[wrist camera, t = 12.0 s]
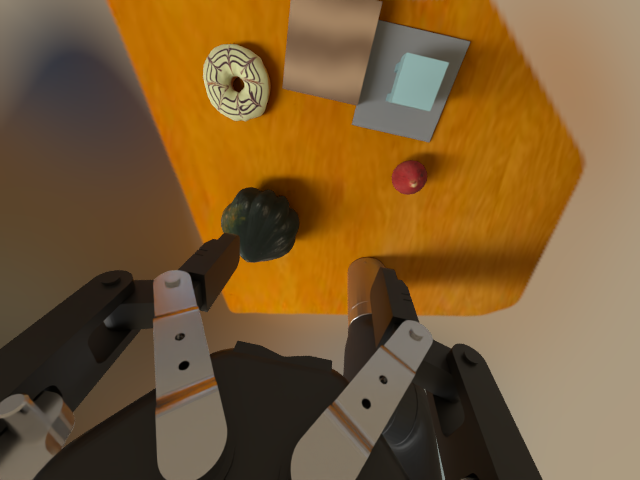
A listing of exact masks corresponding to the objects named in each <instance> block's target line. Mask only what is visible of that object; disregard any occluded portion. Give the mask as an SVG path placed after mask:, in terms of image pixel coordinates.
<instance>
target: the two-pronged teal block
mask: <svg viewBox="0 0 640 480" xmlns="http://www.w3.org/2000/svg"><path fill="white" fill-rule="evenodd" d="M448 64H449V62H445V61H440V60H436V59H432V58H428V57H424V56H420V55H415V54H411V53H406V54H404V55H403V56H402V58H401V61H400V62H399V63H397V64H396V67H395V71H394V72H396V73H397V74H396V78H395V81H394V84H393V88H392V91H391V93H390V94H387V97H386V101H388V102H389V103H393V104H397V105H402V106H406V107H410V108H414V109H419V110H423V111H430V110H431V108H432V105H433V103H434V100H435V98H436V95H437V92H438V90H439V87H440V85H441V82H442V80H443V77H444V75H445V72H446V69H447V67H448Z"/></svg>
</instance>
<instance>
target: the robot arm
mask: <svg viewBox="0 0 640 480" xmlns="http://www.w3.org/2000/svg"><path fill="white" fill-rule="evenodd" d="M239 258H240V236H239V235H235V234H230V233H226V232H225V233H224V234H223V235H222V236H221V237H220V238H219V239H218V240H216V239H212V240H210V241H208V242H206V243H204V244H203V245H202V246H201V247H200V249H199V250H197V251H196V252H195V254H193V255H192V256H191V257H190V258H189V259H188V260H187V261H186V262H185V263H184V264H183V265H182V266H181V267H180V268H179V269H178V270H174V271H168V272H165V273H163V274H161V275H159V276H158V277H157V278H156V279H155V280H133V277H132V274H131V273H129V272H127V271H122V270H115V271H109V272H105V273H103V274H100V275H98V276H96V277H95V278H93V279H92V280H91V281H89V282H88V283H87V284H85V285H84V286H83V287H81V288H80V289H79V290H77V291H76V292H75V293H74V294H72V295H71V296H70V297H68V298H67V299H66V300H64V301H63V302H62V303H60V304H59V305H58V306H56V307H55V308H54V309H52V310H51V311H50V312H49V313H47V314H46V315H44V316H43V317H42V318H41V319H39V320H38V321H37V322H35V323H34V324H33V325H31V326H30V327H29V328H27V329H26V330H25V331H24V332H22V333H21V334H19V335H18V336H17V337H15V338H14V339H13V340H12V341H10V342H9V343H8V344H6V345H5V346H4V347H2V348H1V349H0V480H442V475H441V469H440V462H439V456H438V449H437V444H438V448H439V453H440V457H441V462H442V467H443V471H444V476H445V480H542V477H541V475H540V473H539V471H538V469H537V467H536V465H535V463H534V461H533V459H532V457H531V455H530V453H529V450H528V449H527V446H526V444H525V442H524V440H523V438H522V436H521V434H520V432H519V430H518V428H517V426H516V424H515V421H514V419H513V417H512V415H511V413H510V411H509V409H508V407H507V405H506V403H505V401H504V399H503V397H502V394H501V392H500V390H499V388H498V386H497V384H496V382H495V380H494V378H493V376H492V374H491V372H490V370H489V368H488V365H487V363H486V362H485V360H484V358H483V357H482V356H481V355H480V354H479V353H478V352H477V351H476V350H474V349H473V348H471V347H469V346H467V345H465V344H455V345H454V346H453V347H452V349H451V348H449V347H447V346H444V345H443V344H441V343H439V342H437V341H435V340H433V338H432V335H431V333H430V332H429V330H428V329H426V327H425V326H423V325H422V324H420V323H419V320H418V317H417V314H416V311H415V308H414V305H413V302H412V299H411V296H410V293H409V290H408V287H407V286H406V285H405V284H404V282H403V281H402V280H398V279H397V276H396V273H395V270H394V269H389V268H385V266H384V265H383V264H382V263H381V262H380V261H379V260H377V259H374V258H369V257H367V258H360V259H358V260H356V261H354V262H353V263H352V264H351V265H350V267H349V269H348V338H347V343H346V347H345V356H344V374H343V376H342V375H341V374H339V373H338V372H337V371H335V370H333V369H332V361H331V360H326V359H322V358H317V357H312V356H292V357H284V356H281V355H279V354H277V353H275V352H273V351H271V350H269V349H267V348H265V347H263V346H260V345H255V344H250V343H246V342H241V341H237V343H236V345H235V348H230V349H224V350H220V351H217V352H214V353H212V354H210V355H209V351H208V346H207V342H206V338H205V333H204V329H203V324H202V320H201V315H200V311H199V310H201V311H205V312H208V310H209V309H210V307H211V306H212V304H213V303H214V301H215V300H216V298H217V296H218V295H219V294H220V292H221V291H222V289H223V288H224V286H225V285H226V283H227V282H228V280H229V279H230V277H231V276H232V274H233V273H234V271H235V270H236V268H237V266H238V263H239ZM148 328H153V331H154V332H153V334H154V356H155V378H156V388H155V389H153V390H152V391H150V392H149V393H147V394H145V395H144V396H142V397H141V398H139V399H138V400H136V401H134V402H133V403H131V404H130V405H128V406H126V407H125V408H123V409H122V410H120V411H118V412H117V413H115V414H114V415H112V416H111V417H109V418H107V419H106V420H105V421H103V422H101V423H100V424H98V425H96V426H95V427H93V428H92V429H90V430H88V431H87V432H85V433H84V434H82V435H81V436H79V437H78V438H76V439H75V440H73V441H72V442H70V443H69V444H68V445H66V446H65V447H64V448H63V449H62V447H63V446H64V444H65V441H66V439H67V438H68V436H69V434H70V433H71V431H72V429H73V427H74V423H75V416H74V414H73V411H74V410H75V409H76V408H77V407H78V406H79V404H80V403H81V402H82V401H83V400H84V398H85V397H86V396H87V395H88V393H89V392H90V391H91V390H92V389H93V387H94V386H95V385H96V384H97V382H98V381H99V380H100V379H101V378H102V376H103V375H104V374H105V373H106V371H107V370H108V369H109V368H110V367H111V365H112V364H113V363H114V362H115V360H116V359H117V358H118V357H119V356H120V354H121V353H122V352H123V351H124V350H125V348H126V347H127V346H128V344H129V343H130V342H131V341H132V340H133V338H134V337H135V336H136V335H137V334H138V332H139V331H140V330H141V329H148ZM424 389H425V390H426V392H425V390H424ZM426 394H427V395H426ZM435 435H436V436H435ZM436 439H437V442H436Z"/></svg>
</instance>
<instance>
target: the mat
mask: <svg viewBox="0 0 640 480" xmlns="http://www.w3.org/2000/svg"><path fill="white" fill-rule="evenodd" d="M469 44H470V41H466V40H462V39H457V38H453V37H449V36H444V35H440V34H436V33H432V32H427V31H423V30H419V29H415V28H410V27H406V26H402V25H398V24H393V23H389V22H385V21H381V20H378V23H377V27H376V31H375V35H374V39H373V43H372V47H371V52H370V56H369V60H368V64H367V68H366V72H365V76H364V81H363V85H362V89H361V93H360V97H359V101H358V105H356V110H355V114H354V118H353V122H352V125H356V126H360V127H365V128H369V129H373V130H378V131H382V132H387V133H391V134H395V135H400V136H404V137H408V138H413V139H417V140H422V141H426V142H430V139H431V137H432V134H433V132H434V130H435V127H436V125H437V122H438V120H439V117H440V115H441V112H442V110H443V107H444V105H445V103H446V100H447V98H448V95H449V93H450V90H451V88H452V85H453V83H454V81H455V78H456V76H457V73H458V71H459V68H460V66H461V63H462V61H463V59H464V56H465V54H466V51H467V49H468V46H469ZM406 53H411V54H415V55H420V56H424V57H428V58H432V59H436V60H440V61H445V62H449V64H448V67H447V69H446V72H445V75H444V77H443V80H442V82H441V85H440V87H439V90H438V92H437V95H436V98H435V100H434V103H433V105H432V108H431V110H430V111H423V110H419V109H414V108H410V107H406V106H402V105H397V104H393V103H389V102H388V101H386V97H387V94H390V93H391V91H392V88H393V84H394V81H395V78H396V74H397V73H396V72H394V71H395V67H396V64H397V63H399V62H400V61H401V58H402V56H403V55H404V54H406Z"/></svg>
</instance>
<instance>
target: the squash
mask: <svg viewBox="0 0 640 480" xmlns="http://www.w3.org/2000/svg"><path fill="white" fill-rule="evenodd" d="M221 227H222V230H223V232H224V233H225V232H226V233H230V234H235V235H239V236H240V256H241V257H242V258H243V259H244V260H245V261H247V262H260V261H269V260H273V259H276V258H280V257H282V256H284V255H285V254H287V253H288V252H289V251H290V250H291V249H292V247H293V245H294V243H295V236H296V233H297V231H298V228H299V217H298V215H297V213H296V212H295V211H294V210H293V209H292V208H290V207H289V202H288V200H287V199H286V197H285V196H279V197H276V195H275V193H274V192H273V191H272V190H265V191H263V192H262V191H260V190H258V189H256V188H252V187H249V188H245V189H242V190H241V191H240V192H239V193H238V194H237V195H236V197H235V198H234V200H233V202H232V203H231V204H229V205H228V206H227V207H226V208H225V210H224V211H223V215H222V219H221Z"/></svg>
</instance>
